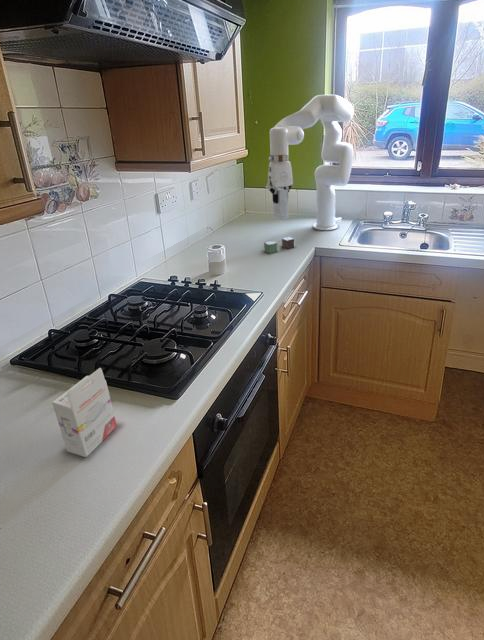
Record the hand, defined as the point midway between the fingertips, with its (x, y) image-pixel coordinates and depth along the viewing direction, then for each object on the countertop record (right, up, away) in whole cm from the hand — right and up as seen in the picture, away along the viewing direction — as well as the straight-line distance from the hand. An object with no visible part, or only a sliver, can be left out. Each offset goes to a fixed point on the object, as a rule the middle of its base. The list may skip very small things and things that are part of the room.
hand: (280, 201), depth 176 cm
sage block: (-4, -21, +3) cm, 22 cm away
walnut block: (+4, -19, +8) cm, 21 cm away
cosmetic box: (0, -7, +3) cm, 7 cm away
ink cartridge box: (-39, -63, -97) cm, 122 cm away
